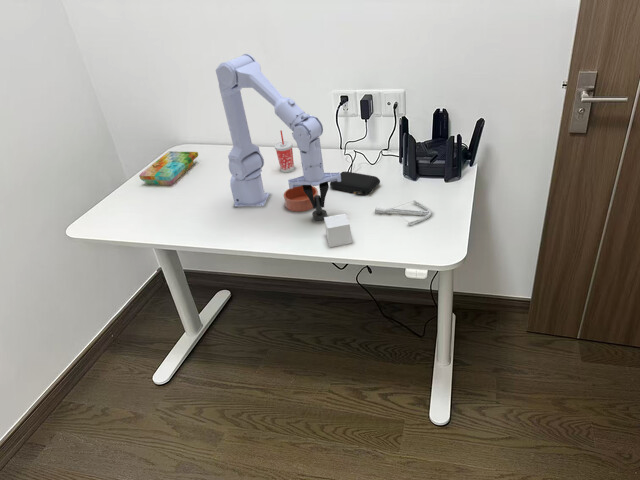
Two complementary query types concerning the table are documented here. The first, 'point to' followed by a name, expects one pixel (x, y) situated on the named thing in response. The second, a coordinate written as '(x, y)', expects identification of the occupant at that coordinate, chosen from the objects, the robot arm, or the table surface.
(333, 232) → the white cube
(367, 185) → the carrying case
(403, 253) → the table surface
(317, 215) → the dark grey bolt
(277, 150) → the beverage cup
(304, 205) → the pot
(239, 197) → the robot arm
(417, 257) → the table surface
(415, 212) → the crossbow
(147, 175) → the puzzle game
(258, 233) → the table surface
